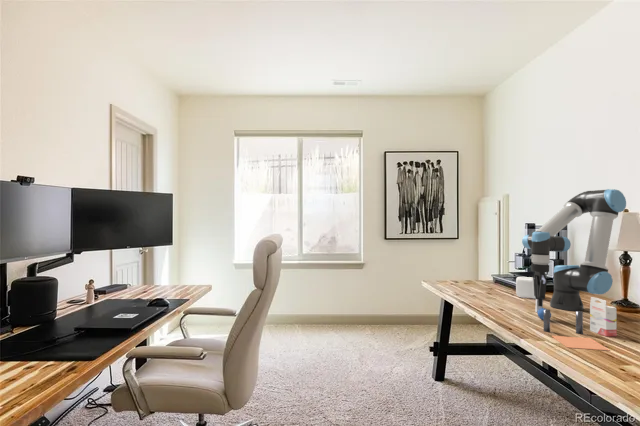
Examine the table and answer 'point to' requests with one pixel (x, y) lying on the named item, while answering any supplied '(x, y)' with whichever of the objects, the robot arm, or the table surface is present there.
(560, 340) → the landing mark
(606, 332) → the ink cartridge box
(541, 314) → the ball
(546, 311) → the post
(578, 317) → the post
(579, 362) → the table surface
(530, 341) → the table surface
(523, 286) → the cable organizer
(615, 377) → the table surface
